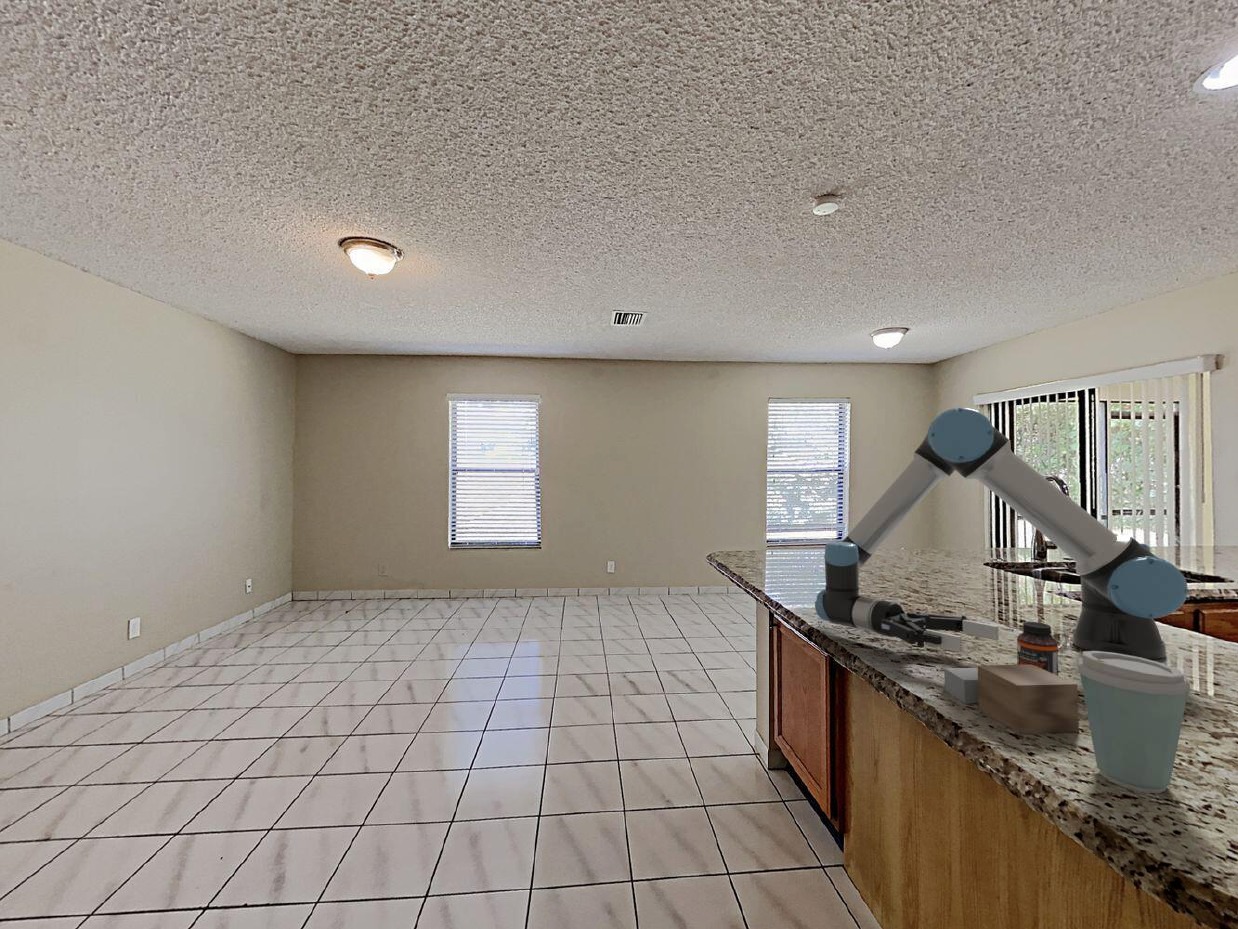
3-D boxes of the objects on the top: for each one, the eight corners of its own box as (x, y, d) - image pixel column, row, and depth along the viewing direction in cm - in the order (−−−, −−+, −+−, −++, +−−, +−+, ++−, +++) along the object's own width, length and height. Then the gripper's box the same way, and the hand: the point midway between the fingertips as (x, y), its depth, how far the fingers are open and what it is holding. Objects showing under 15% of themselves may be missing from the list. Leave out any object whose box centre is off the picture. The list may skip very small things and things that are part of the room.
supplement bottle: (1015, 688, 101) (1013, 624, 102) (1020, 679, 106) (1018, 618, 106) (1057, 697, 97) (1055, 630, 98) (1061, 687, 102) (1059, 623, 102)
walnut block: (1032, 707, 93) (1031, 664, 93) (1079, 732, 84) (1077, 684, 84) (978, 709, 93) (977, 665, 93) (1019, 733, 84) (1017, 685, 84)
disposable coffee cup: (1128, 757, 76) (1124, 644, 77) (1223, 802, 65) (1217, 671, 66) (1057, 763, 75) (1053, 648, 75) (1141, 810, 64) (1137, 675, 65)
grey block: (978, 690, 101) (978, 668, 101) (1001, 704, 95) (1000, 679, 95) (944, 690, 101) (944, 668, 101) (964, 704, 95) (964, 680, 95)
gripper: (912, 625, 134) (1012, 647, 116) (844, 642, 121) (944, 670, 103) (911, 593, 135) (1010, 610, 116) (843, 607, 122) (943, 628, 103)
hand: (980, 638), depth 110 cm, fingers open, 13 cm apart
